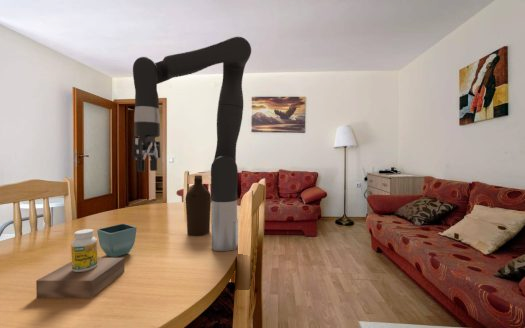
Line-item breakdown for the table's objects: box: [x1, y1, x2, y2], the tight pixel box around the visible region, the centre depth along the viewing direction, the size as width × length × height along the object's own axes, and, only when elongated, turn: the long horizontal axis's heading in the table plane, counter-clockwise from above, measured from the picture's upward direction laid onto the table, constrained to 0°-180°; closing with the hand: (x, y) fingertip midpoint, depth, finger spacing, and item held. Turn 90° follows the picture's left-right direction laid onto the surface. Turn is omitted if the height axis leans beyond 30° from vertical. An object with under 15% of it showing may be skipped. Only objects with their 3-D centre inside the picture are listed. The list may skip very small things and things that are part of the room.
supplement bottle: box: [71, 228, 98, 272], centre depth 63 cm, size 5×5×10 cm
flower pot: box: [96, 223, 137, 258], centre depth 82 cm, size 9×9×9 cm
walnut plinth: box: [35, 257, 125, 299], centre depth 63 cm, size 13×13×4 cm
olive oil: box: [185, 174, 212, 237], centre depth 105 cm, size 11×11×25 cm
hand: (147, 171), depth 80 cm, fingers open, 8 cm apart
